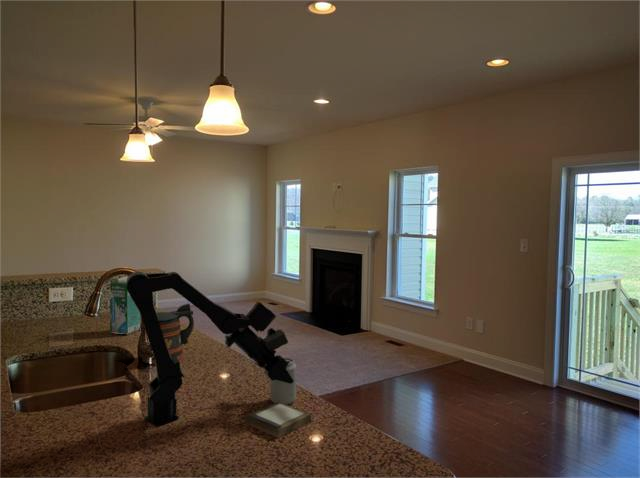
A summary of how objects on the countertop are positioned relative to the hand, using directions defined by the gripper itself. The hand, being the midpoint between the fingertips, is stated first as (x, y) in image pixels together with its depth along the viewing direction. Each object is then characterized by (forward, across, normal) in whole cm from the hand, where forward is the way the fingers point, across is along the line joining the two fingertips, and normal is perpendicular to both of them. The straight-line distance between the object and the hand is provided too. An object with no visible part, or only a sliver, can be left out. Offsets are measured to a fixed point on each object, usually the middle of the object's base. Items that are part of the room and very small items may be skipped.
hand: (287, 377), depth 135 cm
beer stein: (-15, +53, +25) cm, 61 cm away
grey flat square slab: (0, -13, +10) cm, 16 cm away
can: (+4, 0, +6) cm, 7 cm away
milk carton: (-26, +99, +35) cm, 108 cm away
